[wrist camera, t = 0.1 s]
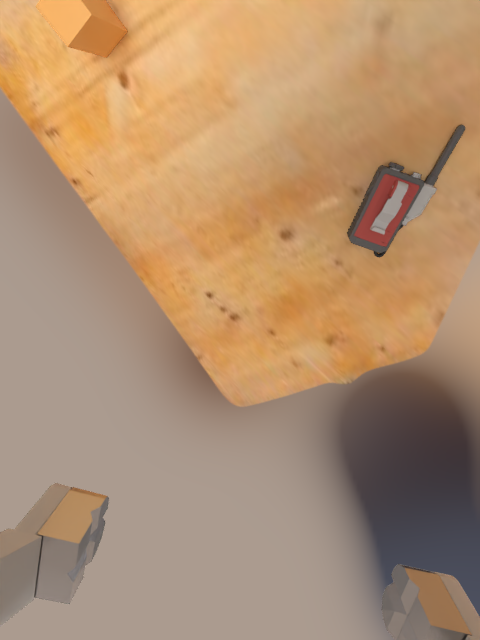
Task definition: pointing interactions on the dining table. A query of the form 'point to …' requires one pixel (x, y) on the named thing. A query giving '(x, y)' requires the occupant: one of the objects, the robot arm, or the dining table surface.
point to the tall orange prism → (84, 24)
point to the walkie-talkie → (394, 202)
